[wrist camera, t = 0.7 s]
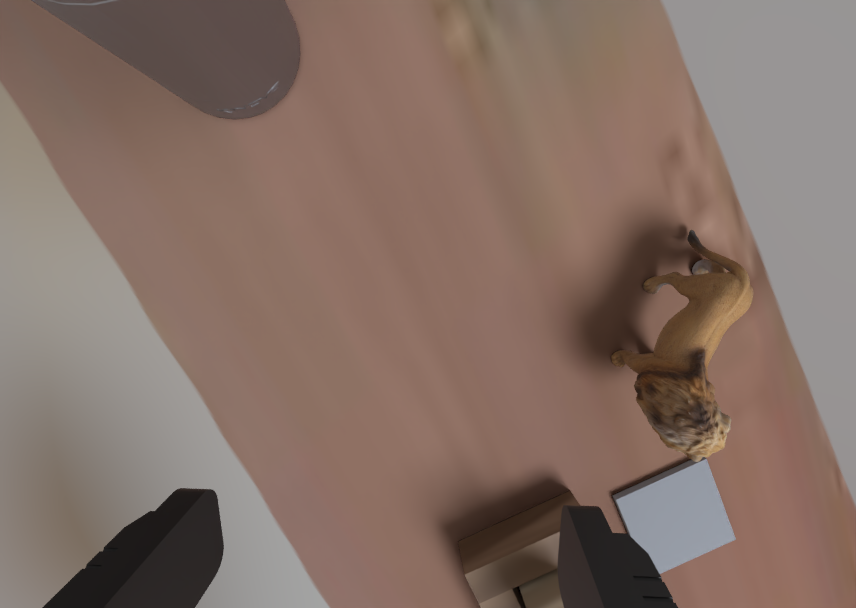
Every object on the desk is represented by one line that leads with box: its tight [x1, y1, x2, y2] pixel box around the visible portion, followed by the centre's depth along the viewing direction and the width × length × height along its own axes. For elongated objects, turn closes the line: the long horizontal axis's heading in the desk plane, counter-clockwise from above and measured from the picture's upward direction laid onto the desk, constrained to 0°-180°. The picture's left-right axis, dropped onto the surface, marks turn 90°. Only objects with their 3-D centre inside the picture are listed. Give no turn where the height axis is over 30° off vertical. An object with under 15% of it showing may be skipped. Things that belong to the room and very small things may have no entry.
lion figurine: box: [611, 230, 753, 462], centre depth 29 cm, size 15×5×9 cm, turn 165°
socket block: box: [458, 491, 580, 608], centre depth 34 cm, size 10×10×4 cm
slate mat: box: [612, 457, 736, 574], centre depth 35 cm, size 8×8×1 cm
